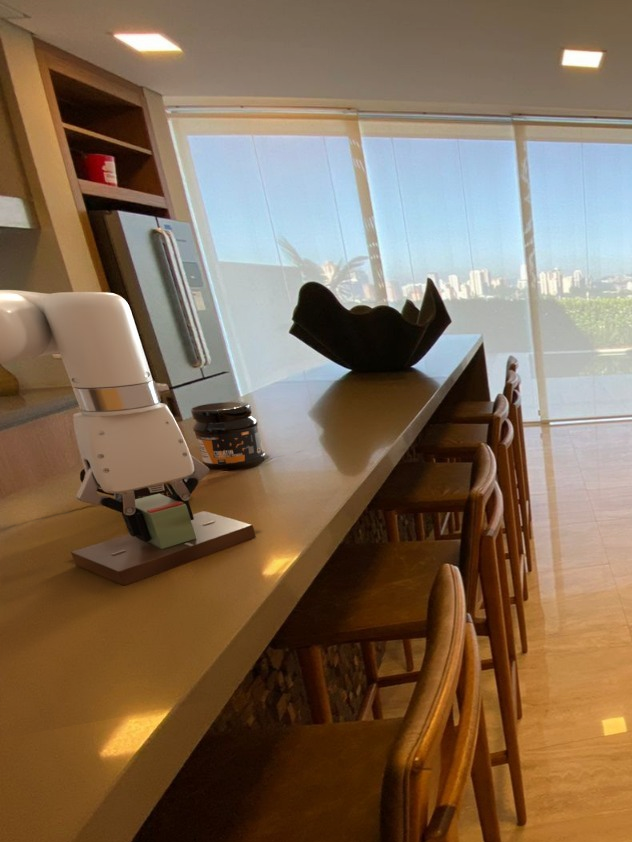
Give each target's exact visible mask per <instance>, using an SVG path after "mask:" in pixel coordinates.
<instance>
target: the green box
mask: <svg viewBox="0 0 632 842" xmlns="http://www.w3.org/2000/svg"><path fill="white" fill-rule="evenodd" d="M135 507H136V508H137V510H138V512H140V513H142V514H143V516H144V519H145V522H146V525H147V528H148V531H149V533H150V536H151V539H150V541H147V542H149V543H151V544H153V545H155V546H157V547H159V548H161V549H164V548H167V547H171V546H174V545H177V544H180V543H184V542H187V541H190V540H193V539H196V535H195V531H194V528H193V525H192V522H191V519H190V516H189V513H188V510H187V506H186V504H184V503H183V502H179V501H176V500H174V499H171V498H169V497H167V496H164V495H162V494H155V495H151V496H147V497H143V498H139V499H135Z"/></svg>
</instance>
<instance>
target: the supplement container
mask: <svg viewBox="0 0 632 842" xmlns="http://www.w3.org/2000/svg"><path fill="white" fill-rule="evenodd" d="M251 407H252V406H251V404H250V403H249V402H245V401H223V402H222V401H221V402H212V403H206V404H205V403H204V404H201V405H196V406H194V407H192V408H191V409H190V413H191V415H192V419H193V420H195V422H194V424H193V425H192V431H193V432H194V434H195V437H196V441H197V444H198V447H199V452H200V454H201V458H202V464H204V465H205V466H206V467H208V468H209V470H211V469H212V470H221V472H234V471H241V470H245V469H249V468H253V467H256V466H258V465H261V464H262V463H263V462H264V461H265V460H266V457H267V456H266V452H265V449H264V445H263V442H262V438H261V433H260V430H259V426H258V425H259V424H258V420H257V419H256V417H254V416H253V415H252V414H253V412H252V408H251Z"/></svg>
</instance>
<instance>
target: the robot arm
mask: <svg viewBox="0 0 632 842" xmlns="http://www.w3.org/2000/svg"><path fill="white" fill-rule="evenodd" d="M58 354H59V355H60V358H61V361H62V364H63V366H64V368H65V371H66V373H67V376H68V379H69V382H70V384H71V387H72V391H73V394H74V396H75V399H76V402H77V404H78V406H79V409H80V412H76V413H73V414H72V420H73V422H72V423H73V428H74V435H75V440H76V444H77V448H78V452H79V456H80V459H81V462H82V466H83V469H84V470H85V473H86V474H85V478H84V480H83V482H81V485H80V487H79V489H78V492H77V494H76V495H75V496H76V499H77V500H78V501H80V502H83V503H86V504H90V505H96V506H100V507H105V508H108V509H111V510H113V511H116V512H119V513H121V515H122V518H123V521H124V522H125V526H126V529H127V531H128V534H130V535H131V536H133V537H135V536H136V538H138V539H140V540H142V541H144V542H147V541H150V539H151V536H150V533H149V531H148V528H147V525H146V522H145V519H144V516H143V514H142V513H140V512H138V510H137V508H136V507H135V495H134V490H138V489H142V488H146V487H151V486H155V485H159V484H163V483H165V484H166V486H167V488H168V489H169V491H170V492H171V494H172V495H171V497H172V498H171V499H174V500H176V501H179V502H183V503H184V504H186V506H187V510H188V513H189V516H190V519H191V520H193V519H194V517H193V514H194V513H193V511H192V508H191V505H190V502H189V500H190V499H191V498H192V493H193V492H194V491H195V489H196V488H197V486H198V485H199V482H201V481H202V480H203V479H204V478H205V477H206V476H207V475H208V474H209V473H210V470H211V469H210V468H208V467H206V466H205V465H204V463H203V462H201V461H200V460H199V459H197V458H196V457H195V456H193V455H192V454H191V453H190V449H189V447H188V445H187V442H186V439H185V438H184V437H185V436H184V435H183V432H182V430H181V429H180V427H179V425H178V422H177V421H176V419H175V417H174V415H173V413H172V411H171V410H170V407H168V405H167V404H166V403H162V399H161V398H162V396H164V395H167V394H170V392H171V391H170V387H169V385H168V384H167V383H159V382H156V381H155V380H154V379H153V377H152V373H151V369H150V367H149V364H148V360H147V357H146V354H145V351H144V348H143V344H142V341H141V339H140V336H139V332H138V329H137V325H136V323H135V319H134V316H133V314H132V310H131V308H130V305H129V304H128V301H126V299H125V298H123V297H122V296H121V295H119V294H116V293H113V292H107V291H105V292H104V291H103V292H101V291H66V292H53V293H45V292H36V291H28V290H18V289H16V290H15V289H0V365H3V364H8V363H13V362H17V361H24V360H28V359H35V358H40V357H45V356H52V355H58ZM182 479H183V480H182ZM98 488H99V489H102V490H103V491H104V492H106V493H112V494H114V496H113V497H111V496H109V495H105V494H104V495H103V494H98V491H97V490H98Z"/></svg>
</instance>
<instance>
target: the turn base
mask: <svg viewBox="0 0 632 842" xmlns="http://www.w3.org/2000/svg"><path fill="white" fill-rule="evenodd" d="M192 514H193V517H194V519H193V520H191V522H192V525H193V528H194V531H195V535H196V539H193V540H190V541H187V542H184V543H180V544H177V545H174V546H171V547H167V548H164V549H161V548H159V547H157V546H155V545H153V544H151V543H149V542H144V541H142V540H140V539H138V538H136V536H135V537H133V536H131V535H130V533H128V534H125V535H122V536H118V537H115V538H112V539H108V540H104V541H101V542H98V543H95V544H93V545H89V546H85V547H82V548H80V549H76V550H73V551H72V550H71V551H70V555H71V556H72V559H73V561H74V564H75V566H77V567H79V568H81V569H84V570H86V571H88V572H91V573H93V574H96V575H98V576H100V577H102V578H105V579H107V580H110V581H111V582H114V583H117V584H119V585H121V586H127V585H130V584H132V583H136V582H138V581H141V580H144V579H146V578H150V577H151V576H152V577H153V576H155V575H157V574H160V573H163V572H166V571H169V570H171V569H173V568H176V567H179V566H182V565H185V564H188V563H190V562H192V561H196V560H198V559H201V558H204V557H207V556H209V555H211V554H215V553H218V552H220V551H223V550H225V549H228V548H230V547H234V546H237V545H239V544H241V543H244V542H247V541H250V540H253V539H255V538H257V536H256V532H255V528H254V525H253V524H250V523H247V522H244V521H240V520H238V519H234V518H230V517H227V516H224V515H221V514H217V513H213V512H210V511H206V510H203V511H199V512H197V513H192Z"/></svg>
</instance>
